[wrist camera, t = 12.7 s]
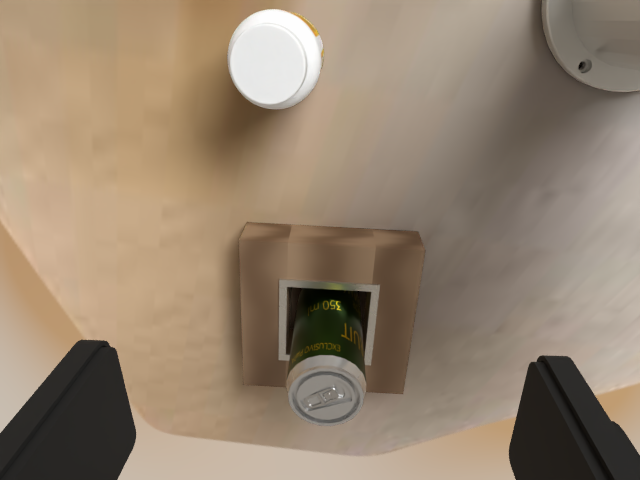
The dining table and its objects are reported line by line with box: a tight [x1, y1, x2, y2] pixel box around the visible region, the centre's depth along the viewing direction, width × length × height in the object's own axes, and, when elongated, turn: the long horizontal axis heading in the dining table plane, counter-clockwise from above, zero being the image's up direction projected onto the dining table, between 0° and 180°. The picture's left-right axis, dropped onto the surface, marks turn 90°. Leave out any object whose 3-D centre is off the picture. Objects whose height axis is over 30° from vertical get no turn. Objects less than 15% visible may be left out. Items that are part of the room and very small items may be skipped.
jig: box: [239, 222, 425, 394], centre depth 40 cm, size 14×14×4 cm
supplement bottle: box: [227, 9, 324, 109], centre depth 29 cm, size 5×5×10 cm
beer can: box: [286, 288, 366, 426], centre depth 36 cm, size 5×5×12 cm
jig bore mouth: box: [279, 279, 380, 365], centre depth 38 cm, size 8×8×1 cm
